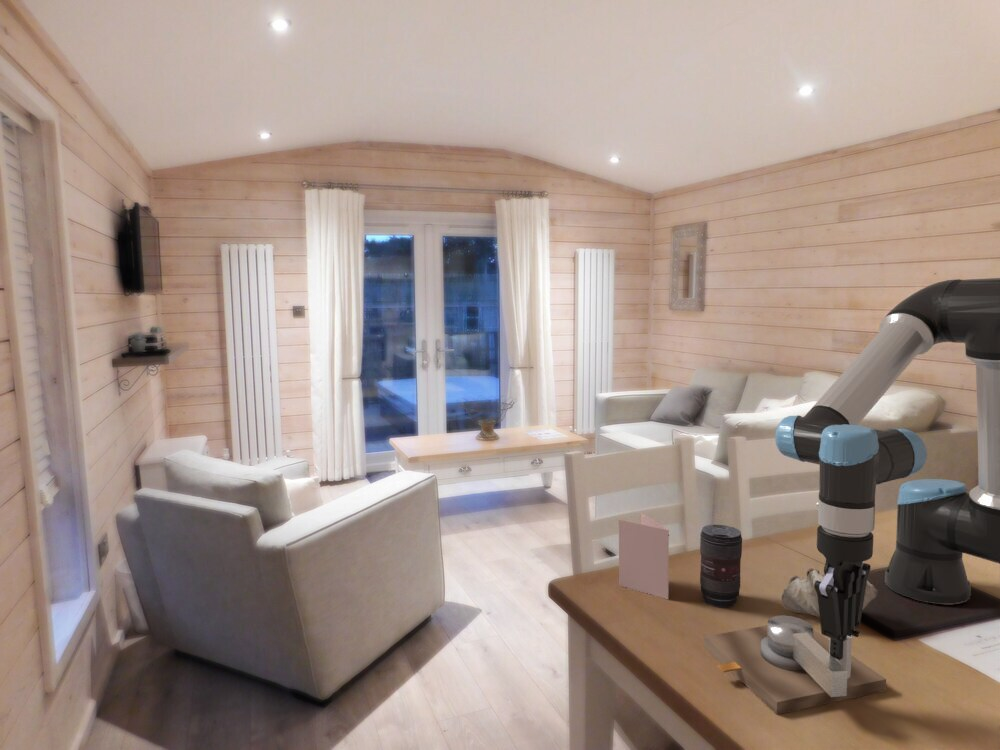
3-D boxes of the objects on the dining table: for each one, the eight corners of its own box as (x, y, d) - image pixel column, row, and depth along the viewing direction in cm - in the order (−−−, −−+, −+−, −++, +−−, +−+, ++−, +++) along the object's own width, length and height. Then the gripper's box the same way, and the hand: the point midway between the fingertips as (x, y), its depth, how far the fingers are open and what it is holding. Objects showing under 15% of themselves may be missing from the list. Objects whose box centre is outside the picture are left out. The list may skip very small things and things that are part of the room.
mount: (799, 629, 124) (799, 612, 124) (885, 690, 105) (886, 670, 104) (688, 649, 118) (688, 631, 118) (758, 718, 99) (759, 696, 99)
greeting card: (672, 599, 138) (672, 529, 136) (640, 604, 136) (639, 534, 134) (645, 577, 149) (644, 512, 147) (614, 582, 147) (614, 516, 145)
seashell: (859, 641, 119) (861, 589, 118) (777, 613, 130) (779, 565, 129) (879, 621, 126) (881, 571, 125) (800, 596, 137) (801, 550, 136)
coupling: (759, 637, 115) (760, 615, 114) (798, 634, 115) (799, 612, 115) (815, 698, 97) (816, 672, 97) (861, 694, 98) (862, 669, 97)
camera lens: (743, 610, 132) (745, 538, 130) (701, 607, 134) (702, 536, 132) (737, 592, 140) (739, 524, 138) (698, 590, 141) (698, 522, 140)
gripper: (841, 512, 106) (835, 650, 109) (798, 532, 99) (793, 679, 102) (891, 525, 100) (883, 670, 104) (849, 546, 93) (843, 702, 96)
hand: (839, 674), depth 103 cm, fingers closed
